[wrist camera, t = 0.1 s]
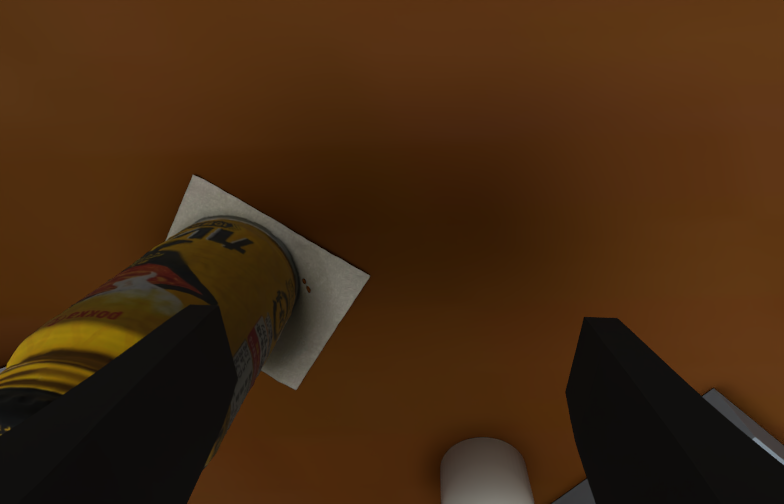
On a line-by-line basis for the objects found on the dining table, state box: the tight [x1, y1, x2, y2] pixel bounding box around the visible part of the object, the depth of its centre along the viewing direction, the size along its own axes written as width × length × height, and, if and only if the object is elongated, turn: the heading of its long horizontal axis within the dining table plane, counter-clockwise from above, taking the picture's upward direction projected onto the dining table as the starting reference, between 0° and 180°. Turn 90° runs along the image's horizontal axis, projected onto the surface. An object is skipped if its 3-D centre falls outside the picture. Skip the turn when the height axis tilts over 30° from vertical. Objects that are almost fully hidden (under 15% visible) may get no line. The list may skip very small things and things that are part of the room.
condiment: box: [0, 175, 370, 469], centre depth 16 cm, size 7×8×12 cm
